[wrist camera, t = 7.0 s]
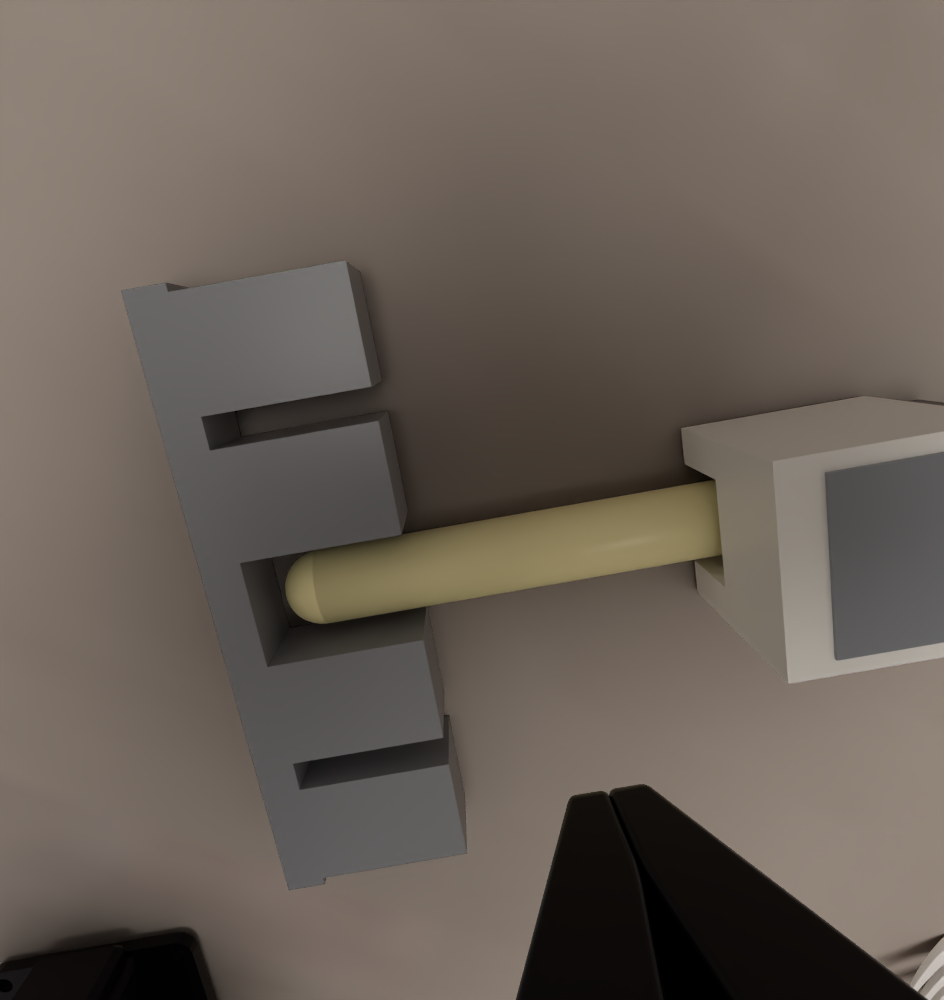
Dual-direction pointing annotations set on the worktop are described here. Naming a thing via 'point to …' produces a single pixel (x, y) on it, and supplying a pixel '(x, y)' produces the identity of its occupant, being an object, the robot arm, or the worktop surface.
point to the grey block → (828, 533)
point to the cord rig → (348, 563)
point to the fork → (940, 987)
